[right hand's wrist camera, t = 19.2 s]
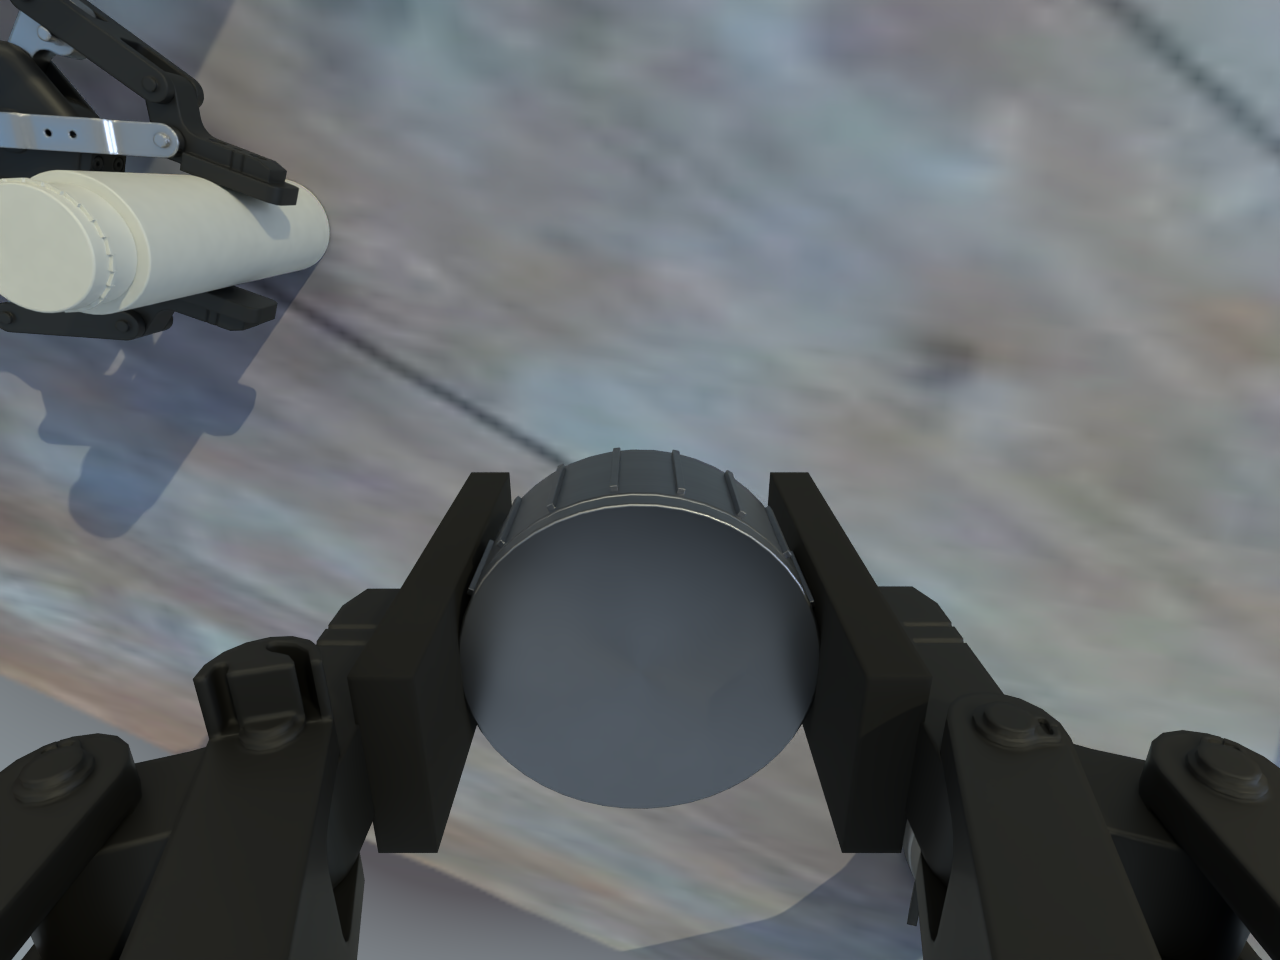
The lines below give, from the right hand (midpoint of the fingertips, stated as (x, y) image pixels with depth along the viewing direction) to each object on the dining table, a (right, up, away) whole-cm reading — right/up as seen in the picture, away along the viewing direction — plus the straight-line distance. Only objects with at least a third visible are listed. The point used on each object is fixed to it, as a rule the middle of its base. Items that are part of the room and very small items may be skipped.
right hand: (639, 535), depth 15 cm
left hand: (-15, +10, +15) cm, 24 cm away
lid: (0, -2, -4) cm, 4 cm away
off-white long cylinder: (-18, +14, +21) cm, 31 cm away
